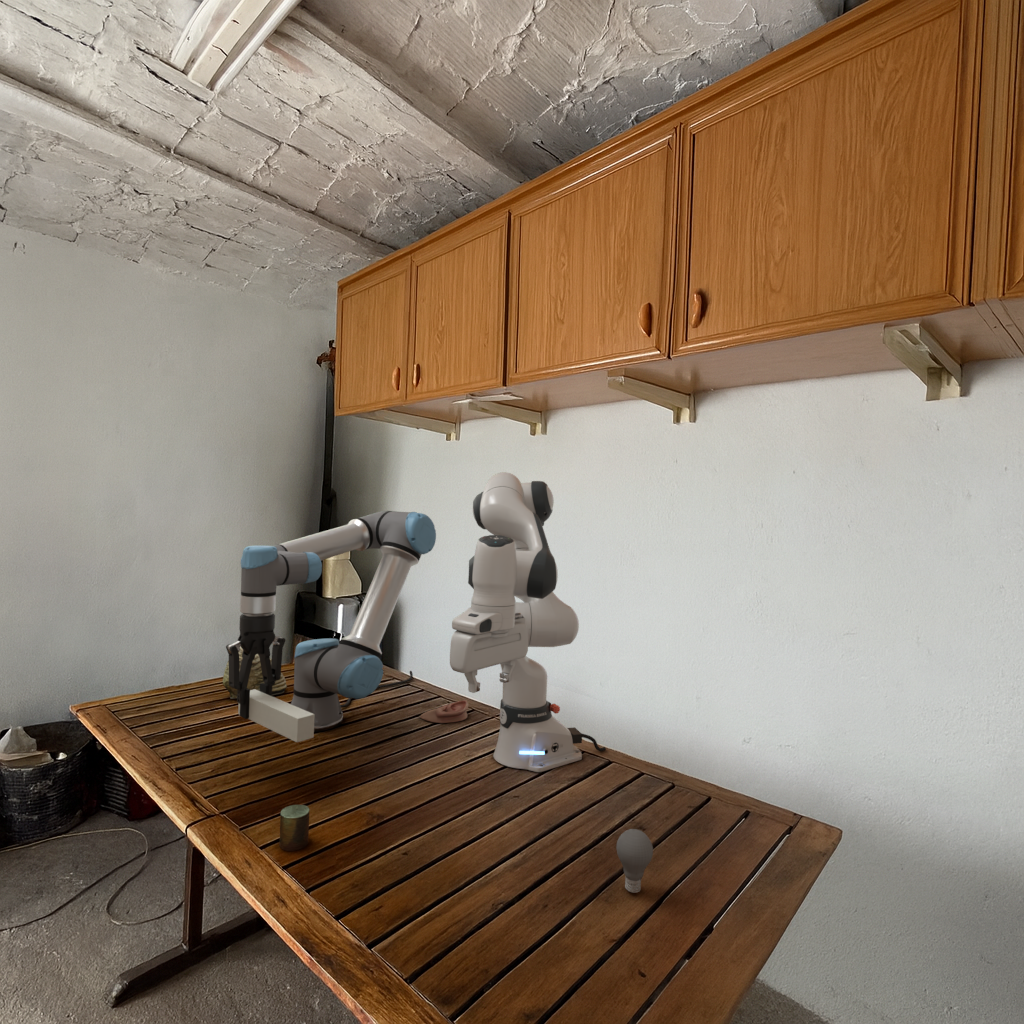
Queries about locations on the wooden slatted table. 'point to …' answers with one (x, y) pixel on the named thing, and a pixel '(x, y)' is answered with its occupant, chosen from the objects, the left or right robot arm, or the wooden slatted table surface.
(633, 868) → the light bulb
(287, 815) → the sage tin
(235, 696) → the fossil
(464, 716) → the anatomical model
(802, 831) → the wooden slatted table surface
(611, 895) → the wooden slatted table surface
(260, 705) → the bar
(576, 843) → the wooden slatted table surface
